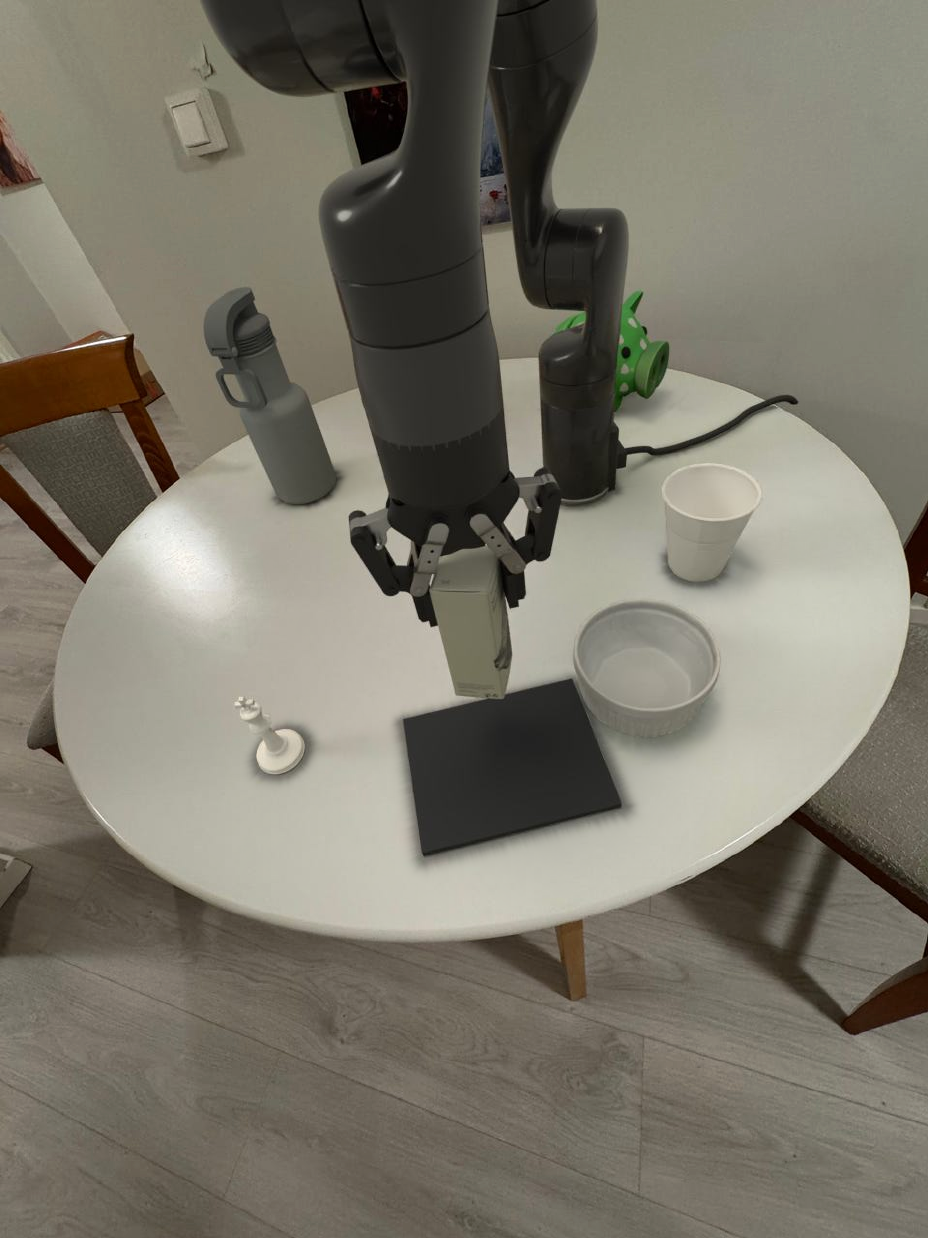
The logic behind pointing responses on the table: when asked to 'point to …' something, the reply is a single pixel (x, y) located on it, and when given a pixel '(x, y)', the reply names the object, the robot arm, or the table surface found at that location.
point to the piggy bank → (633, 353)
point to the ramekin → (645, 665)
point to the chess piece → (271, 740)
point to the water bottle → (268, 399)
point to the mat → (505, 767)
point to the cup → (706, 516)
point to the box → (473, 622)
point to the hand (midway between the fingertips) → (472, 608)
